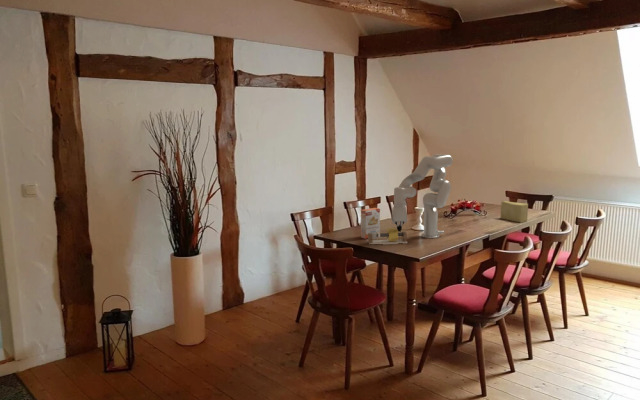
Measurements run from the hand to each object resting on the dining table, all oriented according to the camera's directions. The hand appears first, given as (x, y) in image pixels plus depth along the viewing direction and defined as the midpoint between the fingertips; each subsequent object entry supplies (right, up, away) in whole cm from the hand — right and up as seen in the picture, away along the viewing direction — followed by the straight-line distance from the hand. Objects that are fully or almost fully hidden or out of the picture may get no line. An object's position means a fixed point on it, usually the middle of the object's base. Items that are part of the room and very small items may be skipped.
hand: (399, 231), depth 335 cm
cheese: (+104, +5, +66) cm, 123 cm away
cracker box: (-18, -6, +17) cm, 26 cm away
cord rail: (-8, -8, 0) cm, 11 cm away
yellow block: (-5, -6, +1) cm, 7 cm away
